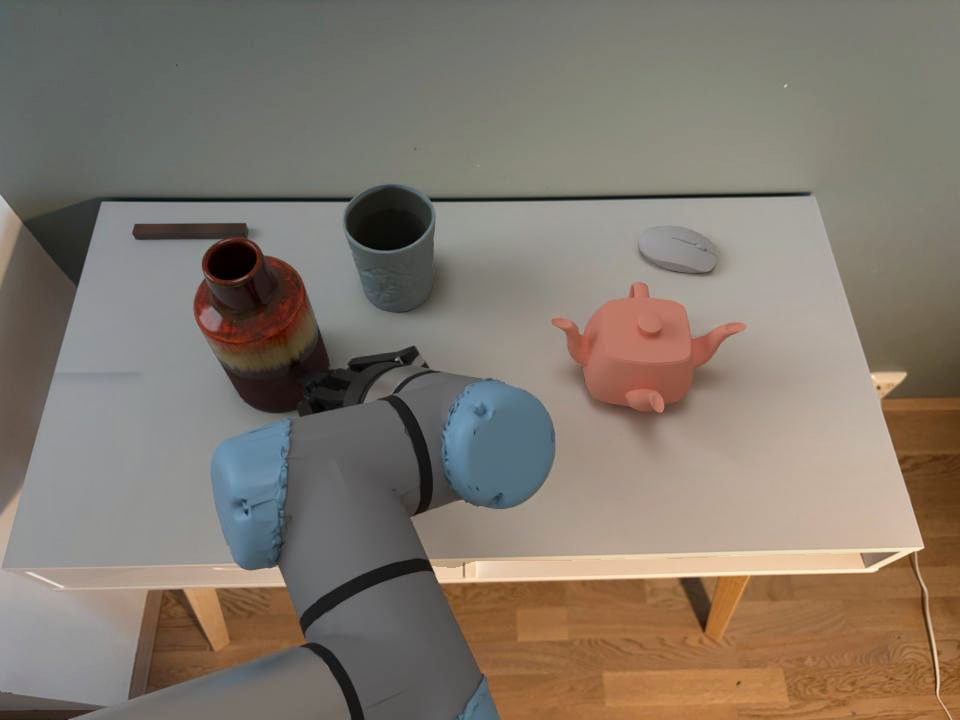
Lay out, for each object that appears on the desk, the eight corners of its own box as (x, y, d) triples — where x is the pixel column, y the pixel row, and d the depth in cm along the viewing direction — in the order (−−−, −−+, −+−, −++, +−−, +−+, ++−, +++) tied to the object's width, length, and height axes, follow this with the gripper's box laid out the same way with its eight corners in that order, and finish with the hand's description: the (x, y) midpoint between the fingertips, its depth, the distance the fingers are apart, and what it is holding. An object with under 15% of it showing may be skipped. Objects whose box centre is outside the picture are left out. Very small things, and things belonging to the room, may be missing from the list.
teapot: (718, 374, 84) (750, 322, 74) (638, 455, 79) (662, 410, 69) (621, 299, 89) (639, 241, 79) (540, 370, 84) (549, 317, 74)
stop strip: (248, 228, 94) (245, 222, 93) (246, 238, 93) (244, 232, 92) (138, 229, 93) (134, 223, 92) (135, 239, 93) (131, 233, 92)
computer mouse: (713, 280, 90) (720, 265, 88) (633, 265, 91) (638, 250, 89) (716, 243, 93) (723, 228, 91) (638, 230, 94) (643, 214, 92)
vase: (232, 339, 85) (170, 222, 68) (325, 324, 87) (288, 206, 69) (235, 421, 80) (169, 318, 62) (334, 404, 81) (296, 298, 64)
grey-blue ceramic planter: (363, 323, 87) (349, 260, 76) (351, 257, 92) (335, 189, 81) (447, 307, 88) (444, 243, 78) (430, 243, 93) (425, 174, 82)
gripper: (367, 508, 55) (280, 451, 75) (489, 397, 60) (376, 371, 80) (308, 433, 52) (235, 395, 72) (440, 323, 57) (337, 316, 77)
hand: (309, 383), depth 76 cm, fingers closed
